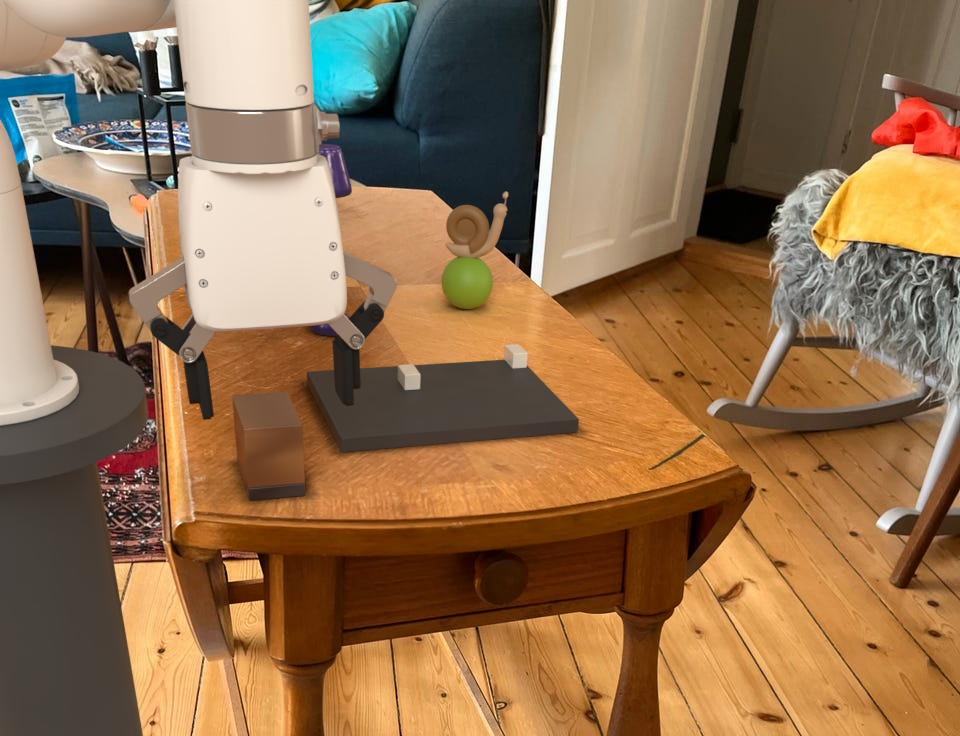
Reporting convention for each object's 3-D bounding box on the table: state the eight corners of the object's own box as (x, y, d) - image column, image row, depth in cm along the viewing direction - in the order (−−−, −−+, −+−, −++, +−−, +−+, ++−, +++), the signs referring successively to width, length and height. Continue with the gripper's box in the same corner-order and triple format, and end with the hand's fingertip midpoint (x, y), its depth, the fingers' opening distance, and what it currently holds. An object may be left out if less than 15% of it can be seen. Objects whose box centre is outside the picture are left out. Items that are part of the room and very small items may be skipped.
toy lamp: (298, 331, 101) (291, 147, 92) (317, 317, 105) (311, 138, 96) (344, 339, 101) (341, 153, 91) (361, 324, 104) (360, 144, 95)
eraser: (249, 501, 73) (243, 428, 70) (237, 464, 77) (231, 394, 74) (305, 496, 74) (302, 424, 71) (290, 459, 79) (287, 391, 75)
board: (341, 452, 80) (340, 438, 79) (307, 384, 91) (306, 371, 90) (577, 432, 86) (579, 419, 85) (519, 370, 97) (520, 358, 96)
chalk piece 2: (512, 368, 94) (513, 353, 93) (503, 359, 95) (504, 344, 95) (526, 368, 94) (528, 353, 93) (517, 358, 96) (518, 343, 95)
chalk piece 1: (404, 390, 88) (404, 375, 87) (397, 380, 90) (397, 364, 89) (420, 389, 88) (420, 374, 87) (412, 379, 90) (413, 363, 89)
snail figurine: (495, 319, 108) (504, 198, 101) (436, 312, 109) (440, 191, 102) (503, 304, 112) (512, 186, 105) (446, 297, 113) (450, 180, 106)
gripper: (378, 123, 68) (384, 376, 77) (101, 129, 63) (144, 397, 73) (408, 143, 62) (410, 414, 72) (105, 151, 57) (152, 439, 67)
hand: (276, 405), depth 72 cm, fingers open, 9 cm apart
